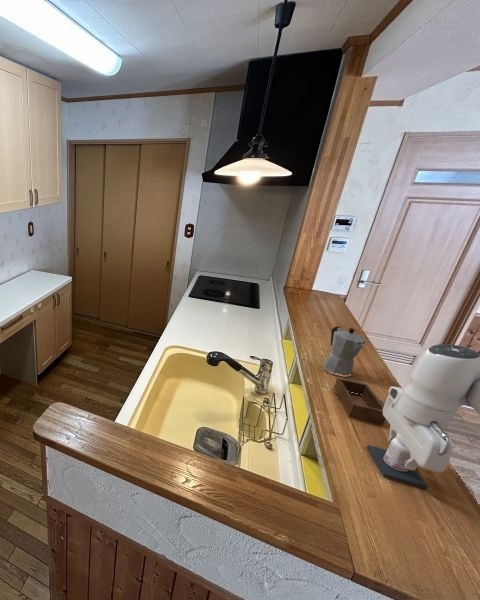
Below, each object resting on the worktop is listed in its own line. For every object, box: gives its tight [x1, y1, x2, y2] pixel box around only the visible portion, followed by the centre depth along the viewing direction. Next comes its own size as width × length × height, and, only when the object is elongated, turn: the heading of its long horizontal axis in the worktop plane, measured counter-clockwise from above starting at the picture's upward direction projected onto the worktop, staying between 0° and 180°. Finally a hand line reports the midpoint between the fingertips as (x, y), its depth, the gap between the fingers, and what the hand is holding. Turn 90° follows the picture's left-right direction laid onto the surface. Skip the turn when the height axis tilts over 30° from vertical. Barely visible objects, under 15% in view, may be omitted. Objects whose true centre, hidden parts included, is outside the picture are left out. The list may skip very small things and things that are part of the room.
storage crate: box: [333, 377, 387, 426], centre depth 103 cm, size 8×16×4 cm, turn 158°
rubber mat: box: [366, 444, 428, 490], centre depth 81 cm, size 8×10×1 cm
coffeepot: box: [321, 325, 367, 379], centre depth 121 cm, size 15×9×18 cm, turn 174°
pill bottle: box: [384, 434, 411, 472], centre depth 79 cm, size 5×5×8 cm
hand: (400, 455), depth 79 cm, fingers open, 6 cm apart
